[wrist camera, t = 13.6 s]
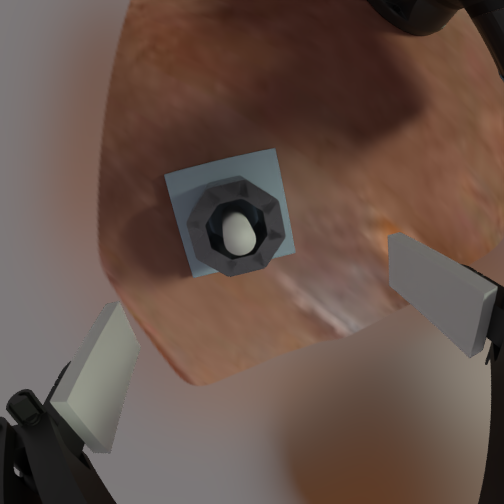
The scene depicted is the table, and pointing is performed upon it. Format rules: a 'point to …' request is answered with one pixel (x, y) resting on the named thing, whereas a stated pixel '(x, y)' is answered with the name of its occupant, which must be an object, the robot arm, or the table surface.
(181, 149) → the table surface
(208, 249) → the hub
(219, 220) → the shaft block
